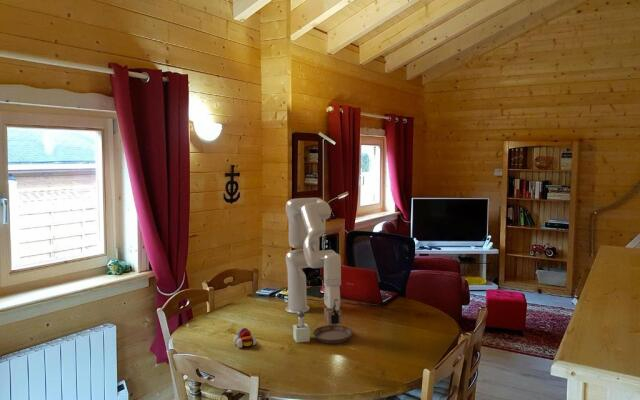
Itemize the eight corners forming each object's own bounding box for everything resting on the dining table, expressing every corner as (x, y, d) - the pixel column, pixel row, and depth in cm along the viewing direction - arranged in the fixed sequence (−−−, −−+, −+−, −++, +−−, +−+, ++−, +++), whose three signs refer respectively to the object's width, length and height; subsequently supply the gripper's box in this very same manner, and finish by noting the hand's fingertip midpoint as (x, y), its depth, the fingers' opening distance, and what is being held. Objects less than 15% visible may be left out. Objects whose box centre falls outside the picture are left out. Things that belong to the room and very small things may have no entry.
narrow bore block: (324, 321, 237) (324, 307, 236) (337, 319, 238) (337, 306, 238) (328, 325, 231) (328, 312, 230) (341, 323, 233) (341, 310, 232)
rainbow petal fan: (239, 350, 222) (238, 333, 222) (232, 343, 231) (231, 326, 230) (258, 346, 226) (257, 330, 225) (250, 339, 235) (250, 323, 234)
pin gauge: (297, 338, 235) (296, 311, 233) (303, 337, 236) (303, 310, 234) (298, 341, 232) (298, 313, 230) (305, 340, 233) (305, 313, 231)
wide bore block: (293, 337, 236) (293, 324, 235) (306, 336, 237) (306, 323, 237) (296, 342, 230) (296, 329, 229) (309, 341, 232) (309, 327, 231)
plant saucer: (323, 348, 224) (323, 341, 224) (307, 335, 240) (306, 328, 240) (359, 341, 231) (359, 334, 231) (341, 328, 247) (341, 322, 247)
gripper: (318, 277, 240) (319, 316, 242) (330, 287, 223) (330, 328, 225) (334, 276, 242) (335, 314, 244) (346, 285, 225) (347, 326, 227)
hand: (332, 320), depth 235 cm, fingers closed on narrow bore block, 6 cm apart
